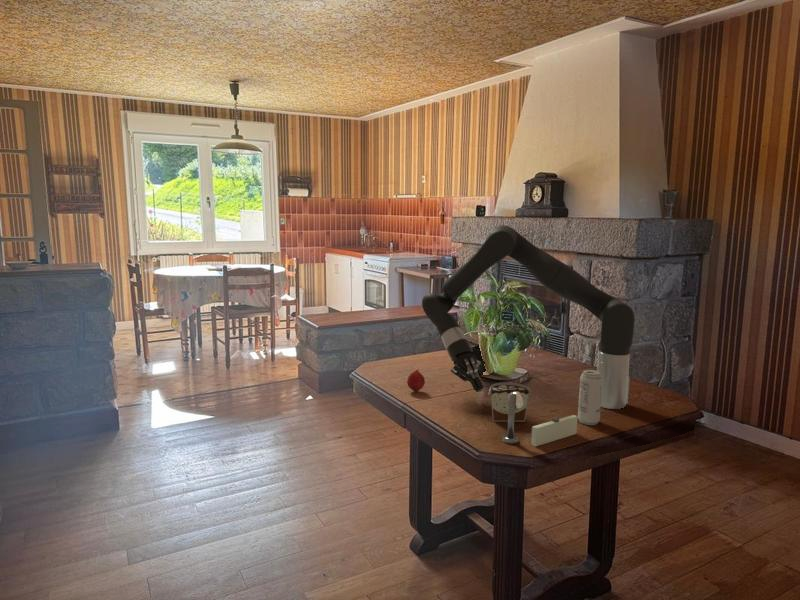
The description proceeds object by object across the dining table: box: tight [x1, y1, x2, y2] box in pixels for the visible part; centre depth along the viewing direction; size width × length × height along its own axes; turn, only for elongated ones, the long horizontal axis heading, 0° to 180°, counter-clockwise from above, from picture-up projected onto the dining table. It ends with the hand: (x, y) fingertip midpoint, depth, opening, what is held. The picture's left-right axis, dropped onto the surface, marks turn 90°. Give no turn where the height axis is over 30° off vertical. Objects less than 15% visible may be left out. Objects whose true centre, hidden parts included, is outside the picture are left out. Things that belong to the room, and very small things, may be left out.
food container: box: [488, 381, 532, 423], centre depth 161 cm, size 12×6×10 cm, turn 92°
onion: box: [406, 368, 426, 393], centre depth 183 cm, size 6×6×8 cm
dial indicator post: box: [502, 391, 524, 445], centre depth 144 cm, size 4×4×13 cm
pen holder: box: [471, 344, 486, 372], centre depth 206 cm, size 9×9×10 cm
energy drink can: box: [577, 369, 603, 426], centre depth 158 cm, size 6×6×15 cm
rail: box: [530, 414, 578, 448], centre depth 146 cm, size 16×1×6 cm, turn 123°
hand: (480, 390), depth 171 cm, fingers closed
